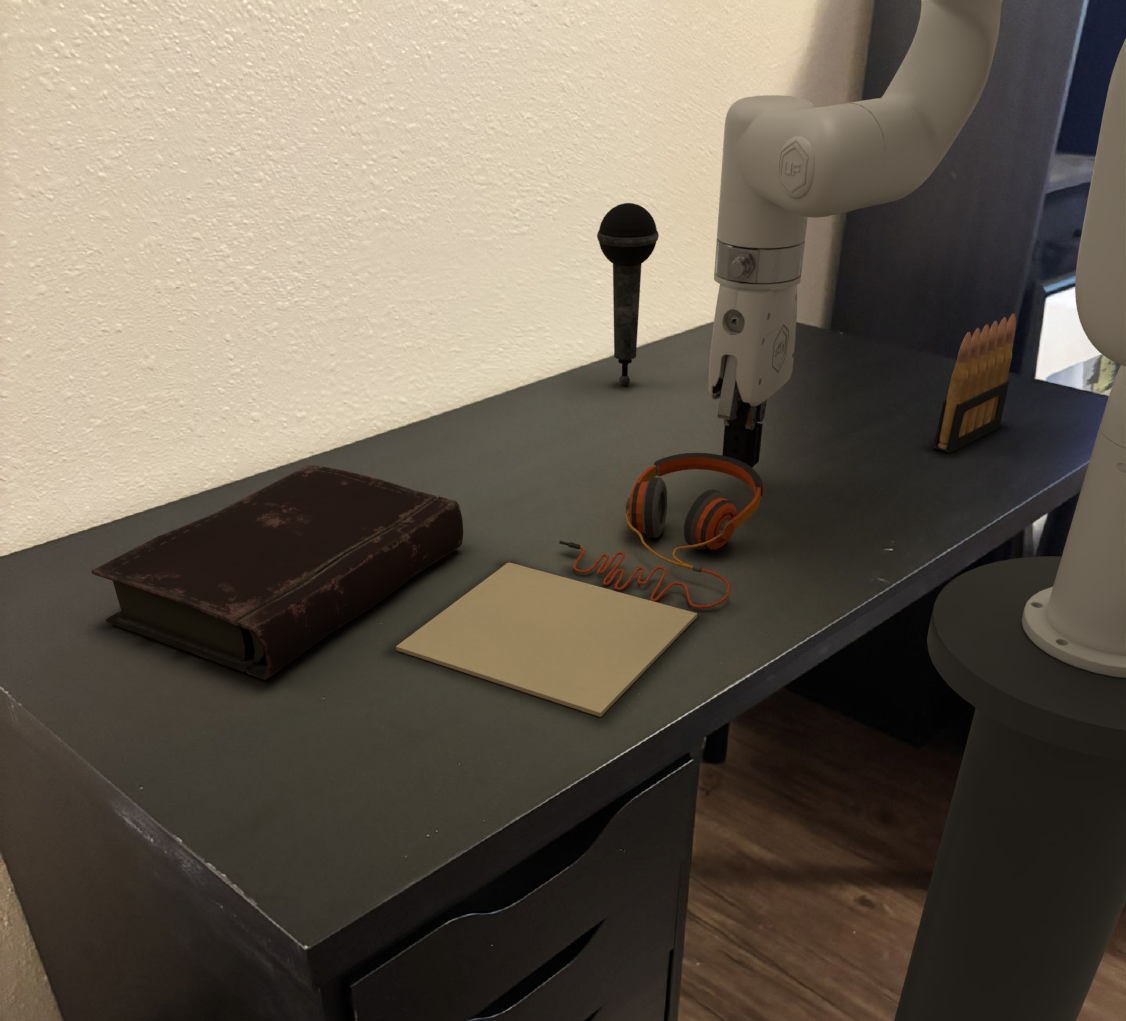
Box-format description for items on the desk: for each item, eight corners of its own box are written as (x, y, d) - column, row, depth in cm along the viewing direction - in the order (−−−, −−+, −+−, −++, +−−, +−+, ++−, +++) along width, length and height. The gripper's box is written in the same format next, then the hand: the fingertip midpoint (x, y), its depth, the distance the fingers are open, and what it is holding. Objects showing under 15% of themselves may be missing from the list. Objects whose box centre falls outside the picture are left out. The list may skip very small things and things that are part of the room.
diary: (467, 551, 98) (464, 498, 95) (274, 687, 81) (262, 628, 78) (307, 507, 106) (299, 457, 103) (100, 623, 89) (83, 567, 86)
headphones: (714, 642, 90) (808, 503, 101) (712, 592, 86) (810, 453, 97) (540, 593, 97) (645, 468, 108) (531, 545, 93) (640, 420, 104)
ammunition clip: (948, 453, 115) (972, 335, 108) (932, 449, 116) (955, 331, 109) (1000, 427, 121) (1026, 313, 114) (984, 422, 122) (1009, 310, 115)
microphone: (628, 372, 137) (632, 194, 125) (664, 387, 132) (672, 204, 120) (584, 384, 133) (584, 202, 121) (620, 399, 129) (623, 212, 117)
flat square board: (697, 617, 89) (697, 613, 88) (600, 717, 78) (600, 712, 77) (508, 566, 96) (508, 561, 96) (396, 650, 85) (395, 646, 85)
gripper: (767, 287, 89) (747, 500, 100) (828, 248, 99) (803, 445, 110) (682, 276, 92) (671, 484, 103) (750, 239, 102) (734, 431, 113)
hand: (740, 463), depth 107 cm, fingers closed
